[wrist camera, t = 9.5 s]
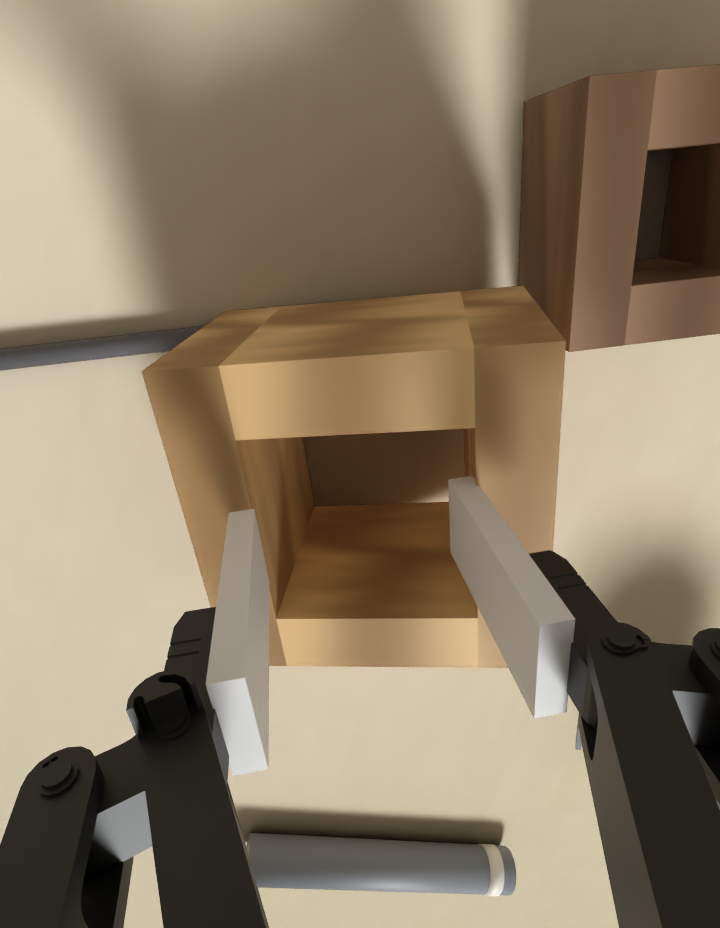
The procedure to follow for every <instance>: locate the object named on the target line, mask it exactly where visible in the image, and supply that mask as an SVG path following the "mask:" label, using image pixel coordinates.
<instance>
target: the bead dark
mask: <svg viewBox="0 0 720 928" xmlns="http://www.w3.org/2000/svg"><path fill="white" fill-rule="evenodd" d="M663 149H673V155H672V162H671V169H670V177H669V184H668V191H667V199H666V206H665V213H664V221H663V228H662V236H661V243H660V250H659V258H652V259H643V260H635V252H636V244H637V235H638V227H639V218H640V210H641V201H642V193H643V185H644V176H645V168H646V159H647V151H653V150H663ZM518 286H524V287H525V289H526V290H527V291H528V293H529V294H530V295H531V297H532V298H533V299H534V300H535V302H536V303H537V304H538V306H539V307H540V308H541V309H542V311H543V312H544V313H545V315H546V316H547V317H548V319H549V320H550V321H551V322H552V324H553V325H554V326H555V328H556V329H557V330H558V331H559V333H560V334H561V335H562V337H563V338H564V339H565V341H566V347H565V350H567V351H568V352H573V351H581V350H589V349H597V348H606V347H614V346H622V345H630V344H639V343H647V342H655V341H663V340H671V339H680V338H688V337H696V336H704V335H713V334H720V64H718V65H707V66H696V67H685V68H674V69H663V70H652V71H641V72H630V73H619V74H608V75H597V76H589V77H586V78H584V79H581V80H578V81H576V82H573V83H571V84H568V85H566V86H563V87H560V88H558V89H555V90H553V91H550V92H548V93H545V94H542V95H540V96H537V97H535V98H532V99H530V100H527V101H524V124H523V155H522V186H521V216H520V247H519V277H518Z"/></svg>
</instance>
